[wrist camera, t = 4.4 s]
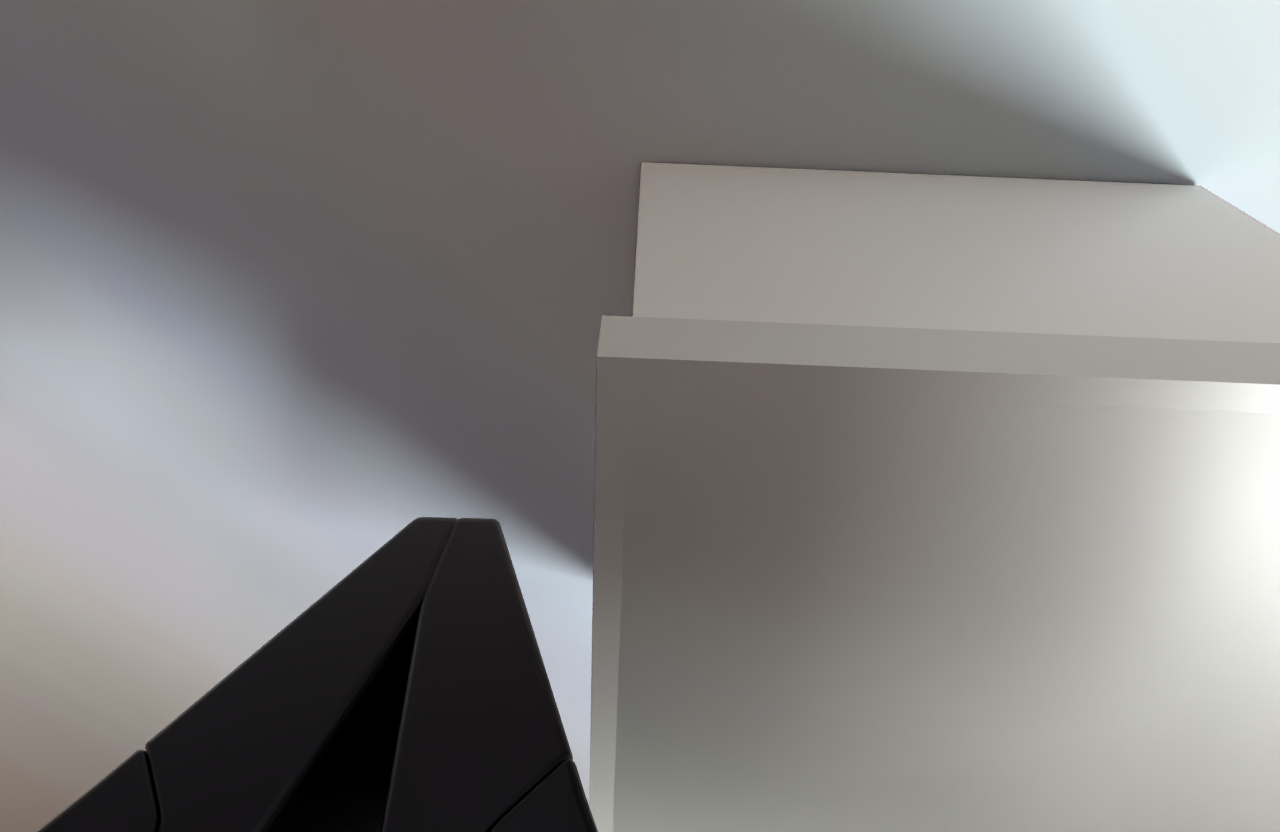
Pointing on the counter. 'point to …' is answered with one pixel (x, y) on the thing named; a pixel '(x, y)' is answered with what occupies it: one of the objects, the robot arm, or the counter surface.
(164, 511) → the counter surface
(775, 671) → the base block
